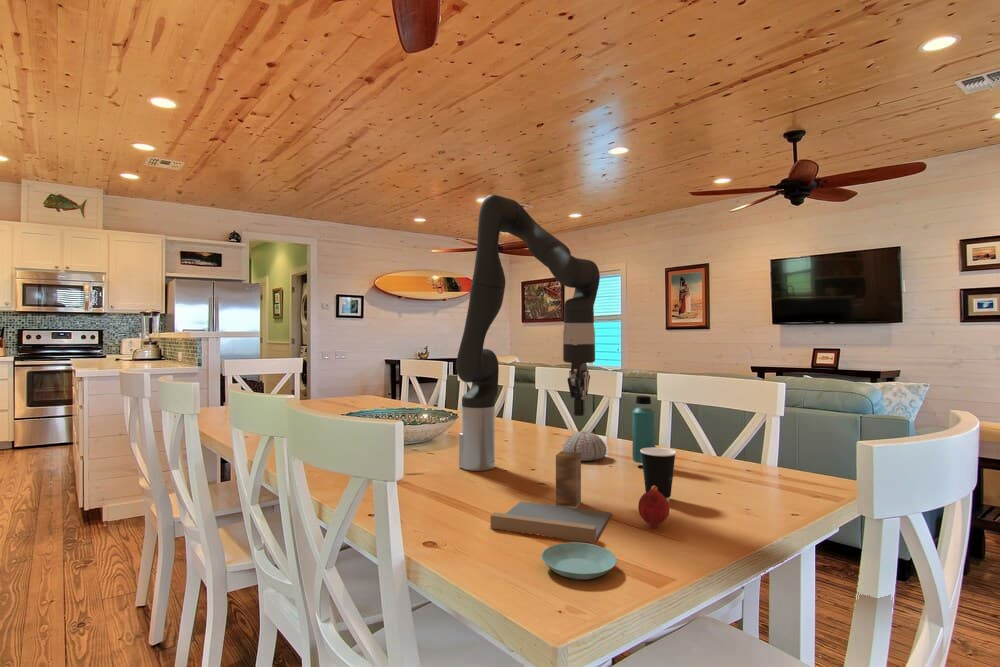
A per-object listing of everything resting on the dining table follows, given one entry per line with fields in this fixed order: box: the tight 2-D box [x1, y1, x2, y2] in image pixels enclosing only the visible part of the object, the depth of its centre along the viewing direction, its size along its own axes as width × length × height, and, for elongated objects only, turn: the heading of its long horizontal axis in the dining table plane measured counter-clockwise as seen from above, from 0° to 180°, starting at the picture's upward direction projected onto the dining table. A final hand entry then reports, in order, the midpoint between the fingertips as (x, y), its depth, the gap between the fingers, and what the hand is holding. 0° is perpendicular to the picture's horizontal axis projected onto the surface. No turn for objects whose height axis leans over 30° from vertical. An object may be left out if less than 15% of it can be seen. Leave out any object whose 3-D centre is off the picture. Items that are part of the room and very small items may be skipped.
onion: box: [637, 485, 670, 528], centre depth 106 cm, size 6×6×8 cm
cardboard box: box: [555, 450, 582, 508], centre depth 120 cm, size 4×4×11 cm
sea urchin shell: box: [562, 431, 608, 462], centre depth 165 cm, size 13×14×8 cm
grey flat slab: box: [490, 501, 612, 544], centre depth 109 cm, size 20×17×2 cm
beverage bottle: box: [631, 395, 657, 464], centre depth 155 cm, size 6×7×20 cm
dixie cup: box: [640, 447, 677, 502], centre depth 124 cm, size 8×8×11 cm
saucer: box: [540, 541, 617, 581], centre depth 87 cm, size 12×12×2 cm
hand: (579, 415), depth 129 cm, fingers closed
